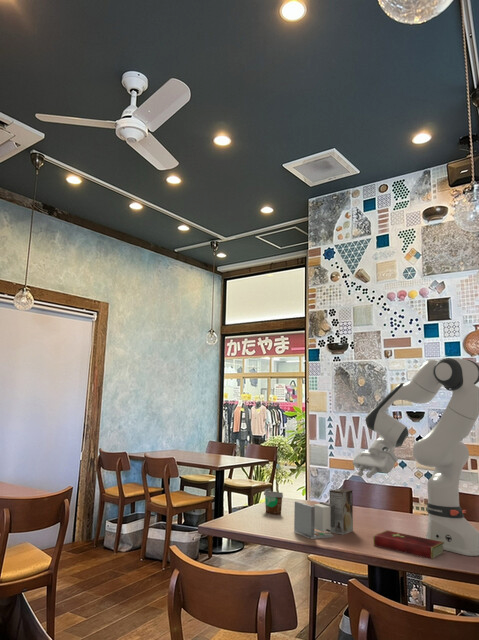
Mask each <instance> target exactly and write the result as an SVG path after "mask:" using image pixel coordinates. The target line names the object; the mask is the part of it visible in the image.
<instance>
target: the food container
mask: <svg viewBox="0 0 479 640" xmlns="http://www.w3.org/2000/svg"><path fill="white" fill-rule="evenodd" d="M263 496H264V497H265V498H264V500H265V501H264V503H265V514H267V515H268V514H269V515H272V516H281V515H282V506H283V505H282V504H283V498H284V493H283V492H278V491H274V490H272V488H266V489H264V492H263Z"/></svg>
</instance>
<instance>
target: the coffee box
mask: <svg viewBox="0 0 479 640" xmlns="http://www.w3.org/2000/svg"><path fill="white" fill-rule="evenodd" d="M353 501H354V500H353V490H352V489H344V488H336V489H332V490H329V504H330V505H334V506H335V527H333V528H332V527H331V531H330V532H329V533H332V534H336V535H337V534H338V535H342V536H345V535H346V534H349V533H351V532H353V531H354V508H353V505H354V503H353Z"/></svg>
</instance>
